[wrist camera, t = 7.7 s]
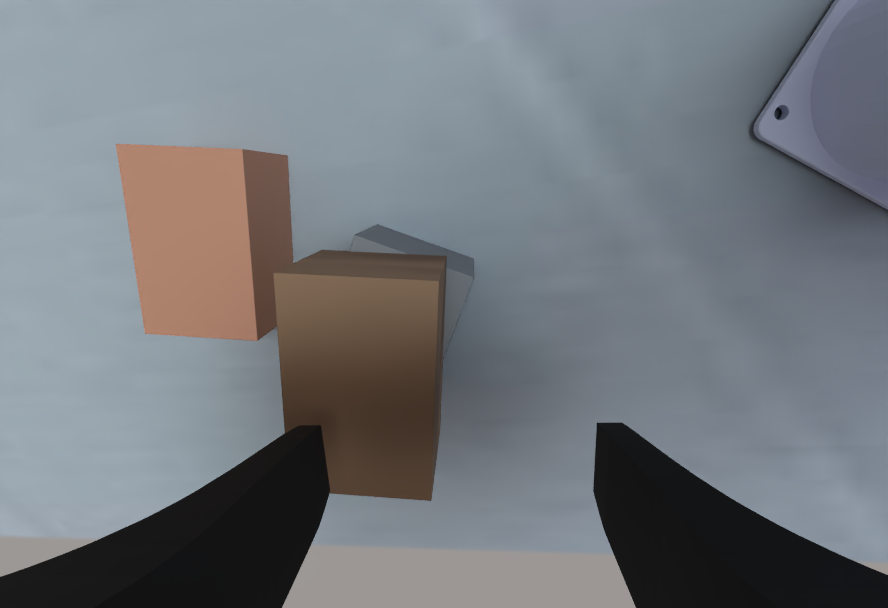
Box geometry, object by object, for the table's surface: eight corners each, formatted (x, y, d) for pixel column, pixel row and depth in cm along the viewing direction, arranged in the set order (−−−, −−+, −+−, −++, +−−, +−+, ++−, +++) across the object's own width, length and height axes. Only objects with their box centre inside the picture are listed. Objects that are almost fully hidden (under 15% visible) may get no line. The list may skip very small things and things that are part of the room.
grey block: (378, 224, 19) (354, 234, 15) (473, 258, 19) (473, 277, 16) (336, 361, 21) (306, 400, 17) (424, 391, 21) (413, 437, 18)
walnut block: (321, 250, 16) (273, 272, 12) (447, 255, 15) (438, 281, 12) (328, 422, 18) (289, 490, 14) (439, 429, 17) (431, 500, 14)
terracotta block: (188, 151, 19) (116, 144, 15) (288, 155, 19) (242, 149, 15) (205, 305, 21) (145, 333, 17) (297, 311, 21) (257, 340, 17)
